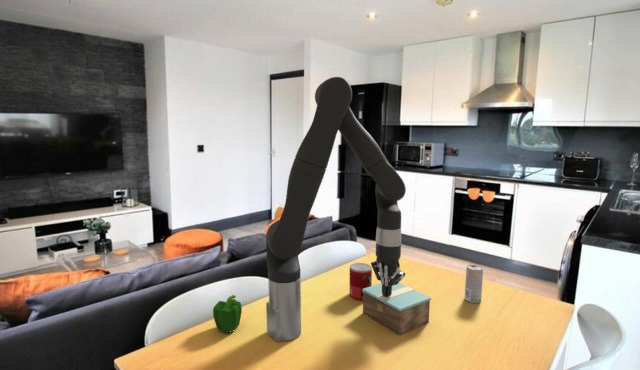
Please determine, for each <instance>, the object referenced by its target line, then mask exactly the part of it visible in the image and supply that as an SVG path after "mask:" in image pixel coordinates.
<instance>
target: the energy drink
mask: <svg viewBox="0 0 640 370" xmlns="http://www.w3.org/2000/svg"><path fill="white" fill-rule="evenodd" d="M483 276H484V269H483V267H482V266H480V265H477V264H468V265H466V269H465V284H464V285H465V286H464V300H466V301H465V302H468V303H470V304H479V303H481V302H482V292H483V280H484V279H483V278H484V277H483Z"/></svg>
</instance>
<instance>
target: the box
mask: <svg viewBox="0 0 640 370" xmlns="http://www.w3.org/2000/svg"><path fill="white" fill-rule="evenodd" d="M430 302H431V300H430V301H427V302H425V303H422V304H419V305H417V306H414V307H411V308H409V309H406V310H403V311H401V312H400V311H398V310H396V309H394V308H392V307H390V306H389V305H387V304H385V303H383V302H381V301H379V300H378V299H376V298H374V297H372V296H370V295H368V294H366V293H365V292H364V293H363V300H362V314H364V315H365V314H366V316H367V315H368V316H367V317H369V318H370V317H371V318H370V319H372V320H374V321H375V322H377V323H379V324H380V325H381V326H383V327H385V328H386V329H388V330H390V331H391V332H393V333H395V334H396V335H398V336H401V335H404V334H406V333H408V332H409V331H412V330H414V329H418V328H419V327H421V326H422V325H425V324H427V323H429V322H430Z"/></svg>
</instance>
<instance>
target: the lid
mask: <svg viewBox="0 0 640 370" xmlns="http://www.w3.org/2000/svg"><path fill="white" fill-rule="evenodd" d="M362 291H363V292H365V293H366V294H368V295H370V296H372V297H374V298H376V299H378V300H379V301H381V302H383V303H385V304H387V305H389V306H390V307H392V308H394V309H396V310H398V311H400V312H401V311H403V310H406V309H409V308H411V307H414V306H417V305H419V304H422V303H425V302H427V301H430V302H431V300H432V297H431V296H428V295H426V294H424V293H422V292H421V291H417V290H415V289H414V288H412V287H409V286H406V285H404V284H403V283H401V282H399V283H398V284H397V285H393V286H392V294H391V296H389V297H385V296H383V295H382V284H381V282H380V283H377V284H374V285H372V286H370V287H367V288H364V289H362Z"/></svg>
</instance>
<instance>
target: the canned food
mask: <svg viewBox="0 0 640 370" xmlns="http://www.w3.org/2000/svg"><path fill="white" fill-rule="evenodd" d="M372 280H373V268H372V266H371V264H368V263H364V262H355V263H354V262H353V263H352V264H350V265H349V296H350V297H351V298H352V299H353V298H354V299H353V300H356V301H363V293H364V292H363V291H362V289H364V288H367V287H370V286H373V283H372Z"/></svg>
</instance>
